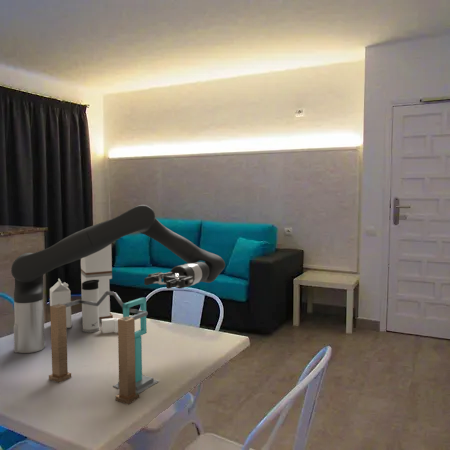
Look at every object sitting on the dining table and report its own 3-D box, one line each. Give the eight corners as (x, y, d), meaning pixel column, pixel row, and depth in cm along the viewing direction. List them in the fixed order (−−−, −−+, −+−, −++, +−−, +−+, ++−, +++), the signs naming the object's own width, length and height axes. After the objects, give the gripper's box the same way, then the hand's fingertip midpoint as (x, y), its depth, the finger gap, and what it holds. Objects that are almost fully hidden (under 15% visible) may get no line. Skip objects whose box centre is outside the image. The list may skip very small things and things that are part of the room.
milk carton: (52, 330, 176) (51, 282, 174) (50, 325, 182) (49, 279, 180) (71, 327, 179) (70, 280, 177) (68, 322, 185) (67, 277, 184)
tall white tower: (112, 320, 189) (111, 238, 186) (86, 323, 184) (84, 239, 181) (106, 313, 199) (105, 235, 196) (82, 316, 194) (80, 236, 192)
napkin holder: (140, 329, 178) (140, 315, 178) (125, 338, 167) (125, 323, 167) (107, 325, 183) (107, 312, 182) (91, 334, 172) (90, 319, 172)
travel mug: (97, 332, 173) (96, 281, 171) (80, 332, 173) (79, 281, 171) (102, 327, 179) (101, 278, 177) (85, 327, 179) (84, 278, 177)
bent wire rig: (48, 379, 130) (46, 292, 128) (77, 366, 139) (75, 285, 137) (128, 404, 115) (126, 306, 113) (154, 388, 124) (153, 297, 122)
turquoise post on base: (135, 391, 122) (134, 305, 120) (116, 386, 125) (114, 302, 123) (155, 380, 129) (154, 299, 127) (136, 375, 132) (135, 296, 131)
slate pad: (113, 386, 125) (113, 385, 125) (134, 375, 133) (134, 374, 133) (137, 394, 121) (137, 393, 121) (158, 381, 129) (158, 380, 129)
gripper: (169, 262, 154) (138, 268, 140) (204, 266, 147) (175, 273, 133) (169, 283, 155) (138, 292, 141) (203, 288, 148) (174, 298, 134)
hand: (156, 283), depth 137 cm, fingers open, 8 cm apart
